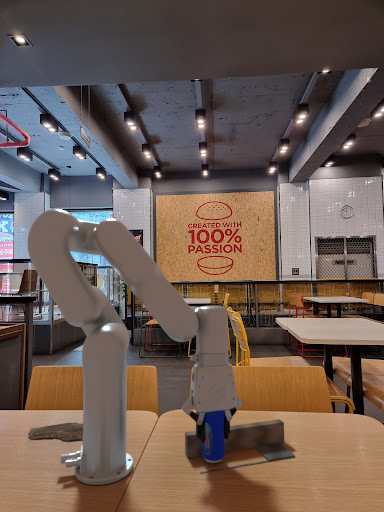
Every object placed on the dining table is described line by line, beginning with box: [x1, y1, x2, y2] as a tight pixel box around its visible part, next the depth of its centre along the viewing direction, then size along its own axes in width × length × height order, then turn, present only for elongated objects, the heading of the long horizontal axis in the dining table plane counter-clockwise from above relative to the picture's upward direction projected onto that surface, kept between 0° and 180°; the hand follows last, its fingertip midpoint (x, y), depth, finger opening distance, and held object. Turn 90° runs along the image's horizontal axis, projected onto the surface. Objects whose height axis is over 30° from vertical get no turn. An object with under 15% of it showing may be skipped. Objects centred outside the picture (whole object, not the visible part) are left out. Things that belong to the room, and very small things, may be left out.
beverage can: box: [201, 411, 225, 464], centre depth 78 cm, size 5×5×15 cm
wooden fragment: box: [27, 422, 83, 442], centre depth 93 cm, size 26×11×1 cm, turn 84°
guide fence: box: [184, 419, 296, 474], centre depth 81 cm, size 26×9×5 cm, turn 106°
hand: (213, 437), depth 78 cm, fingers closed on beverage can, 5 cm apart
